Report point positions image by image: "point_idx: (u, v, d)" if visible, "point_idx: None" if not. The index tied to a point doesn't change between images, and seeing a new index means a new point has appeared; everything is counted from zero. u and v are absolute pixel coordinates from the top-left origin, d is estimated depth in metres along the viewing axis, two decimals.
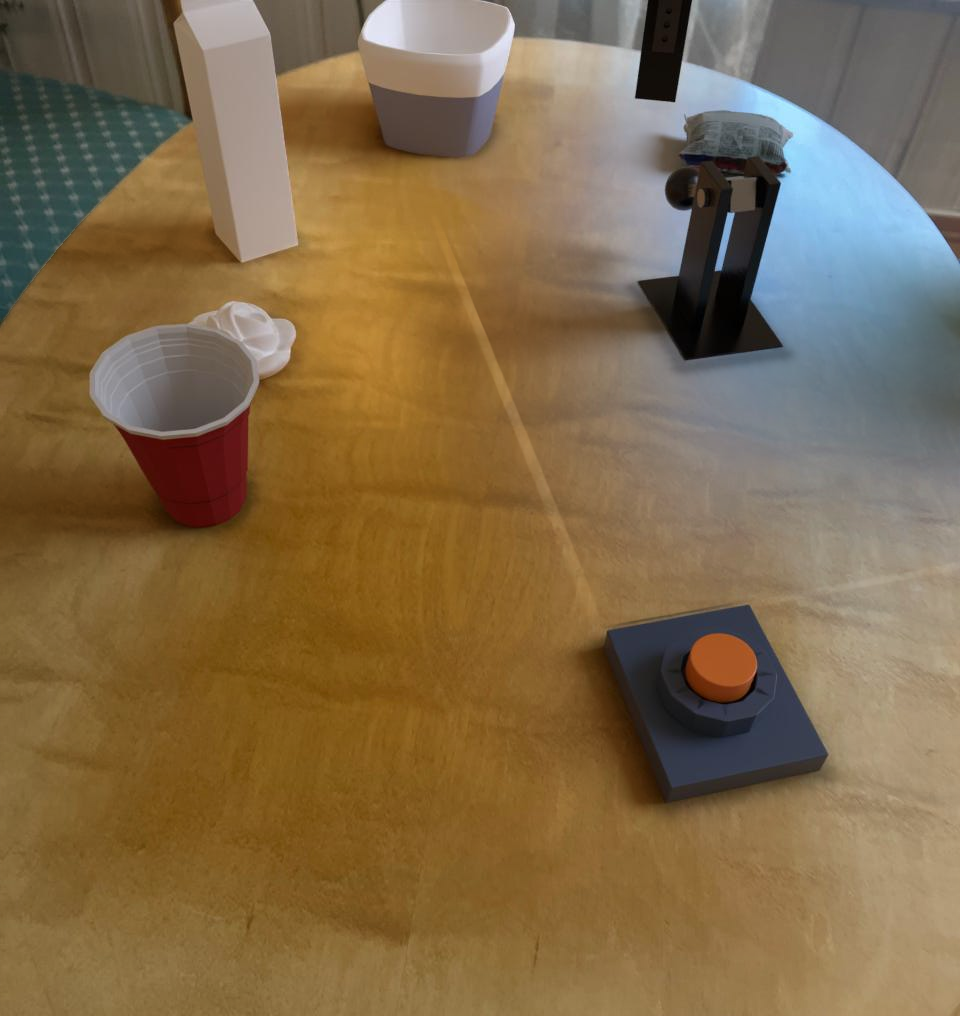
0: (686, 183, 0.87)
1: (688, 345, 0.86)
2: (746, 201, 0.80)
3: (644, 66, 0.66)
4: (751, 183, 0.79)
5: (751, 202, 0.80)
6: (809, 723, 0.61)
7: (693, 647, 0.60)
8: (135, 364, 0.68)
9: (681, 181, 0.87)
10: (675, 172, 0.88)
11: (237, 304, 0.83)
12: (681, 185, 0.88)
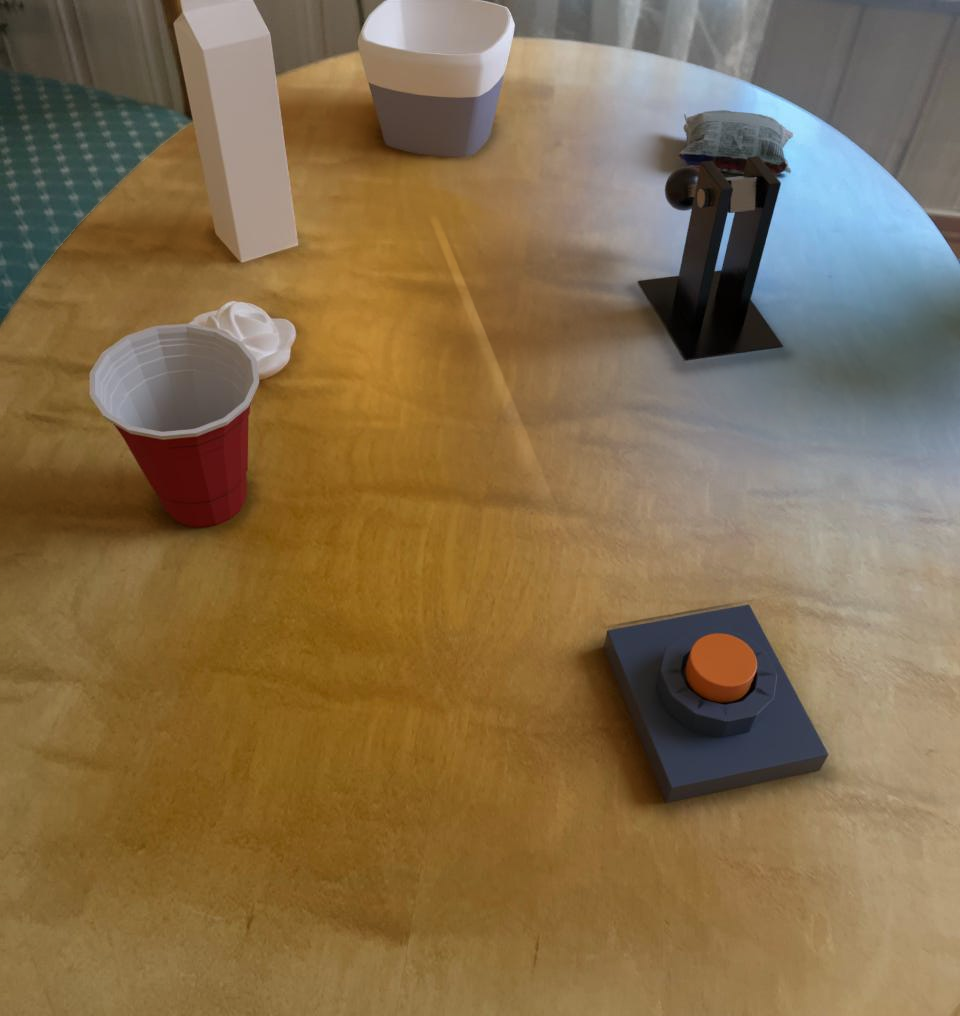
0: (686, 183, 0.87)
1: (688, 345, 0.86)
2: (746, 201, 0.80)
3: None
4: (751, 183, 0.79)
5: (751, 202, 0.80)
6: (809, 723, 0.61)
7: (693, 647, 0.60)
8: (135, 364, 0.68)
9: (681, 181, 0.87)
10: (675, 172, 0.88)
11: (237, 304, 0.83)
12: (681, 185, 0.88)
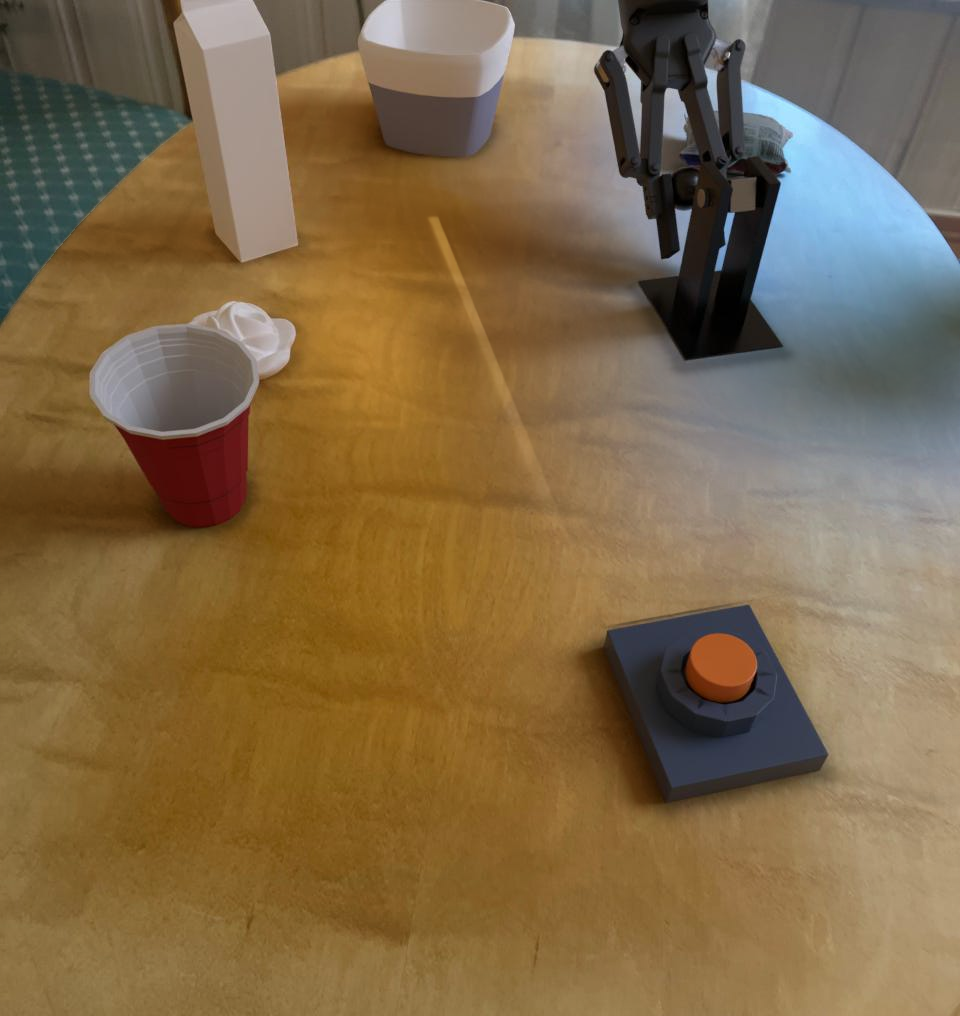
0: (686, 183, 0.87)
1: (688, 345, 0.86)
2: (746, 201, 0.80)
3: (659, 234, 0.90)
4: (751, 183, 0.79)
5: (751, 202, 0.80)
6: (809, 723, 0.61)
7: (693, 647, 0.60)
8: (135, 364, 0.68)
9: (681, 181, 0.87)
10: (675, 172, 0.88)
11: (237, 304, 0.83)
12: (681, 185, 0.88)
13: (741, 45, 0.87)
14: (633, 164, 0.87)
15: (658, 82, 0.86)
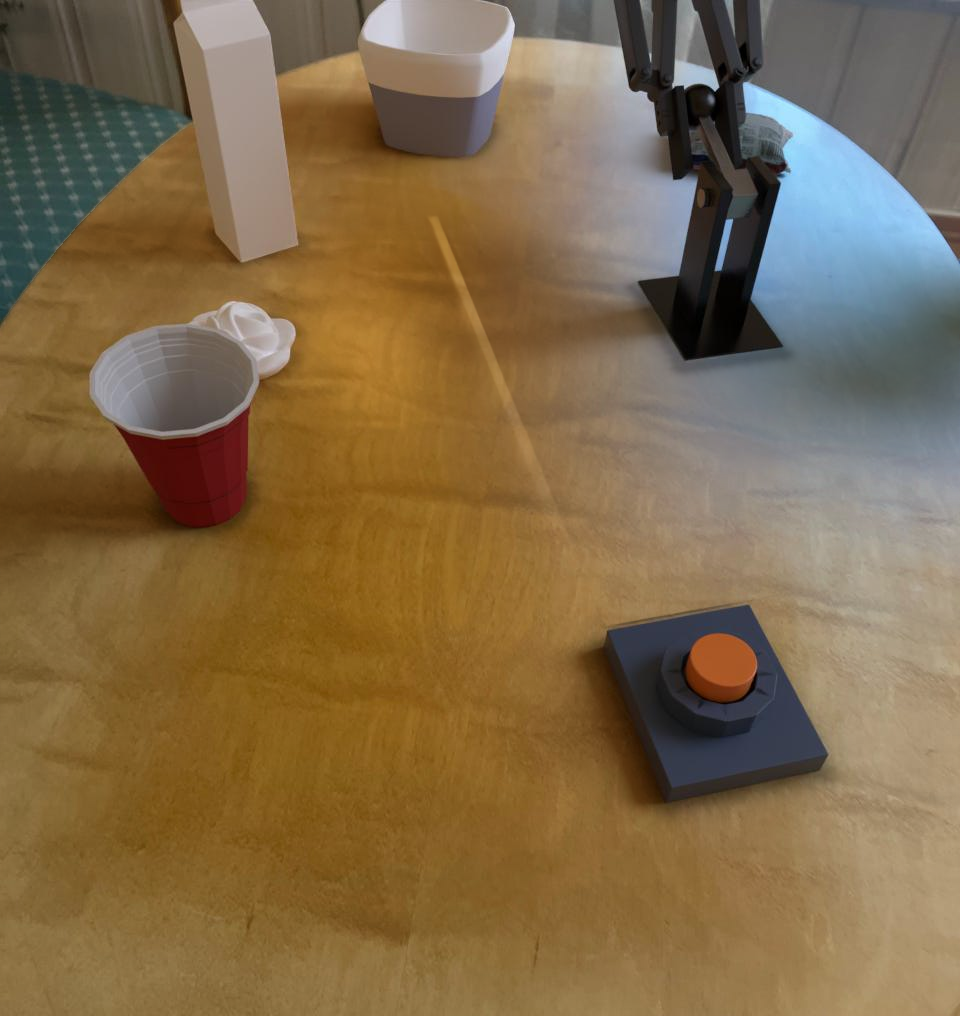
0: (698, 116, 0.83)
1: (688, 345, 0.86)
2: (742, 211, 0.80)
3: (671, 153, 0.85)
4: (752, 198, 0.79)
5: (747, 212, 0.81)
6: (809, 723, 0.61)
7: (693, 647, 0.60)
8: (135, 364, 0.68)
9: (693, 113, 0.83)
10: (690, 95, 0.83)
11: (237, 304, 0.83)
12: (692, 116, 0.83)
13: None
14: (644, 74, 0.81)
15: None
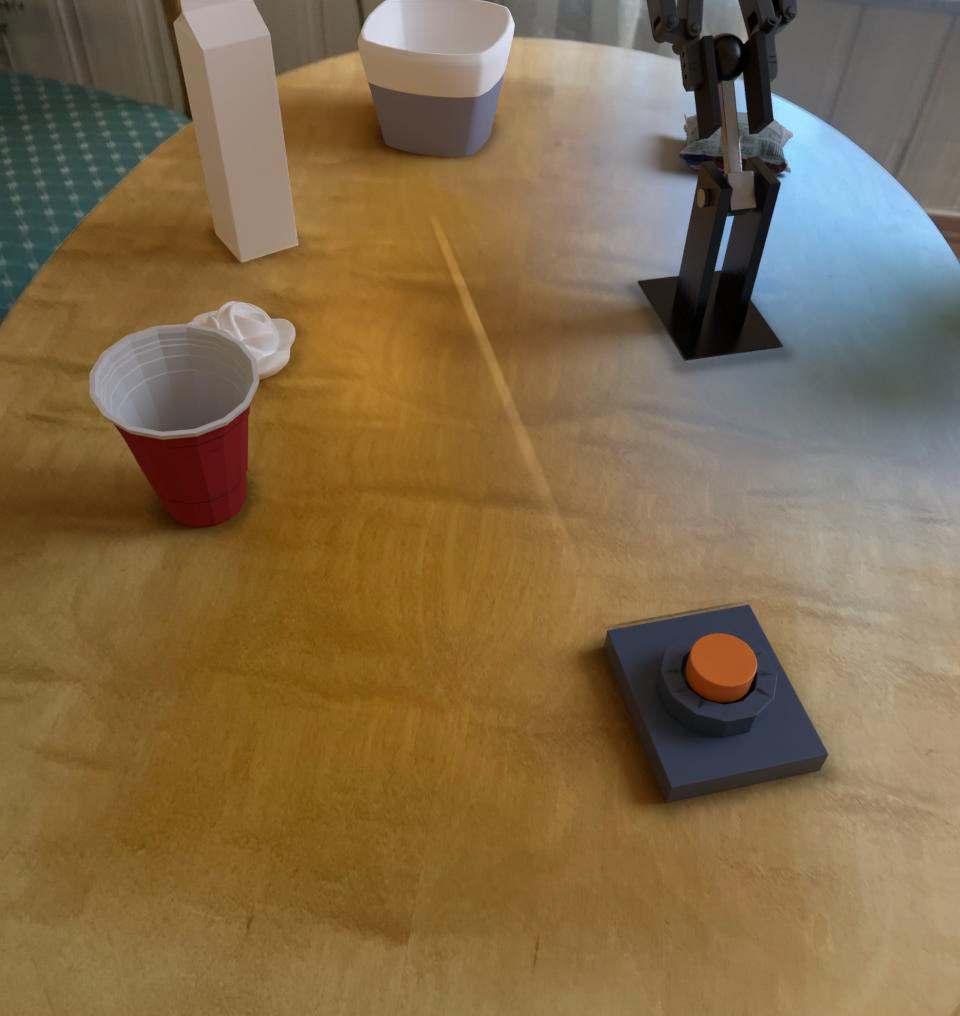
0: (720, 79, 0.78)
1: (688, 345, 0.86)
2: (737, 214, 0.81)
3: (697, 110, 0.79)
4: (749, 209, 0.80)
5: (742, 213, 0.81)
6: (809, 723, 0.61)
7: (693, 647, 0.60)
8: (135, 364, 0.68)
9: (717, 76, 0.78)
10: (718, 56, 0.77)
11: (237, 304, 0.83)
12: None
13: None
14: (670, 23, 0.75)
15: None
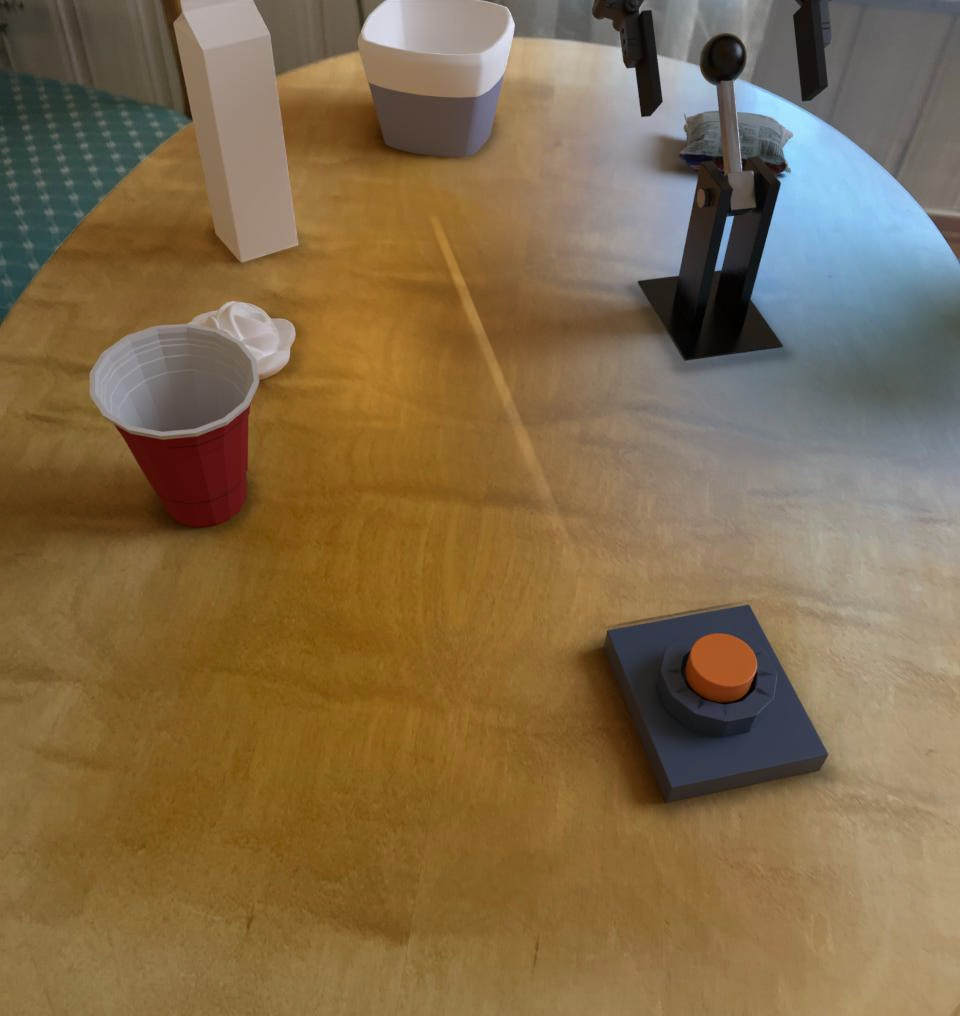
0: (720, 79, 0.78)
1: (688, 345, 0.86)
2: (738, 213, 0.81)
3: (639, 87, 0.78)
4: (749, 209, 0.80)
5: (742, 213, 0.81)
6: (809, 723, 0.61)
7: (693, 647, 0.60)
8: (135, 364, 0.68)
9: (717, 76, 0.78)
10: (718, 56, 0.77)
11: (237, 304, 0.83)
12: (715, 78, 0.78)
13: None
14: None
15: None
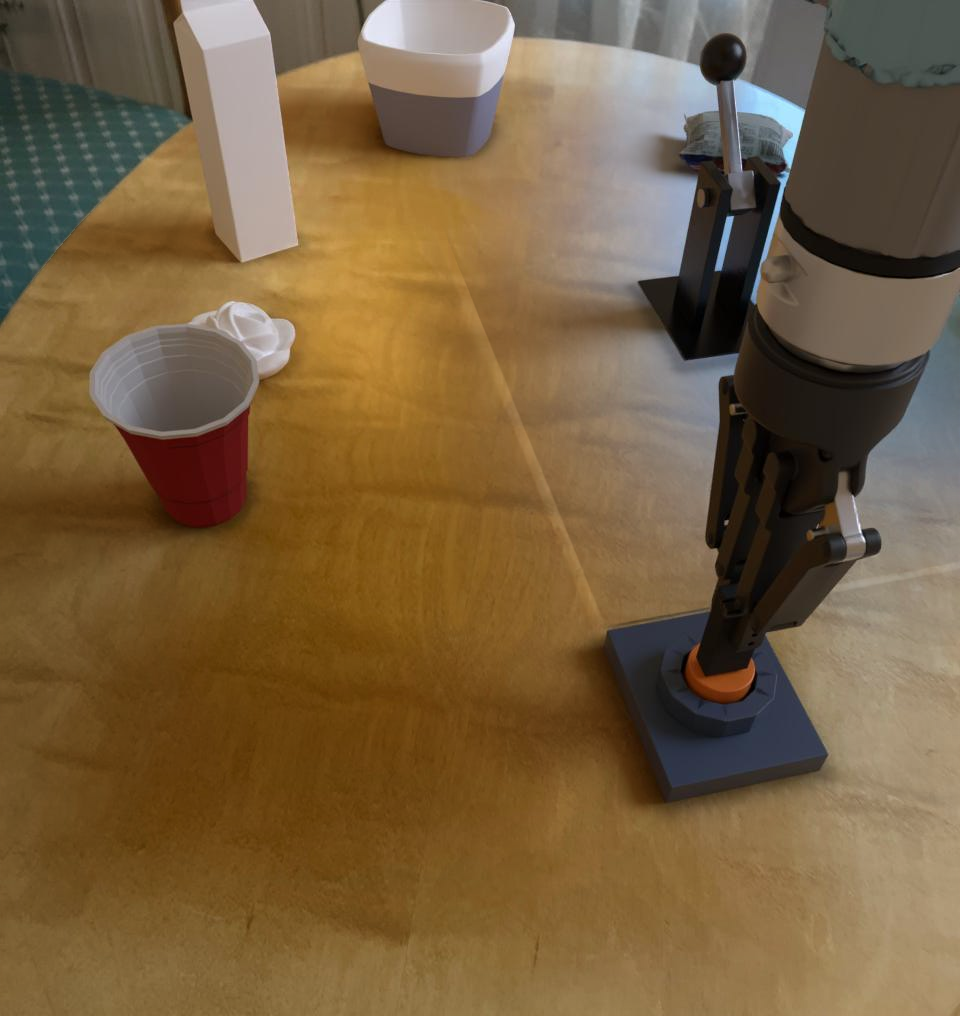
0: (720, 79, 0.78)
1: (688, 345, 0.86)
2: (738, 213, 0.81)
3: (717, 654, 0.58)
4: (749, 209, 0.80)
5: (742, 213, 0.81)
6: (809, 723, 0.61)
7: (691, 653, 0.61)
8: (135, 364, 0.68)
9: (717, 76, 0.78)
10: (718, 56, 0.77)
11: (236, 304, 0.83)
12: (715, 78, 0.78)
13: None
14: None
15: None
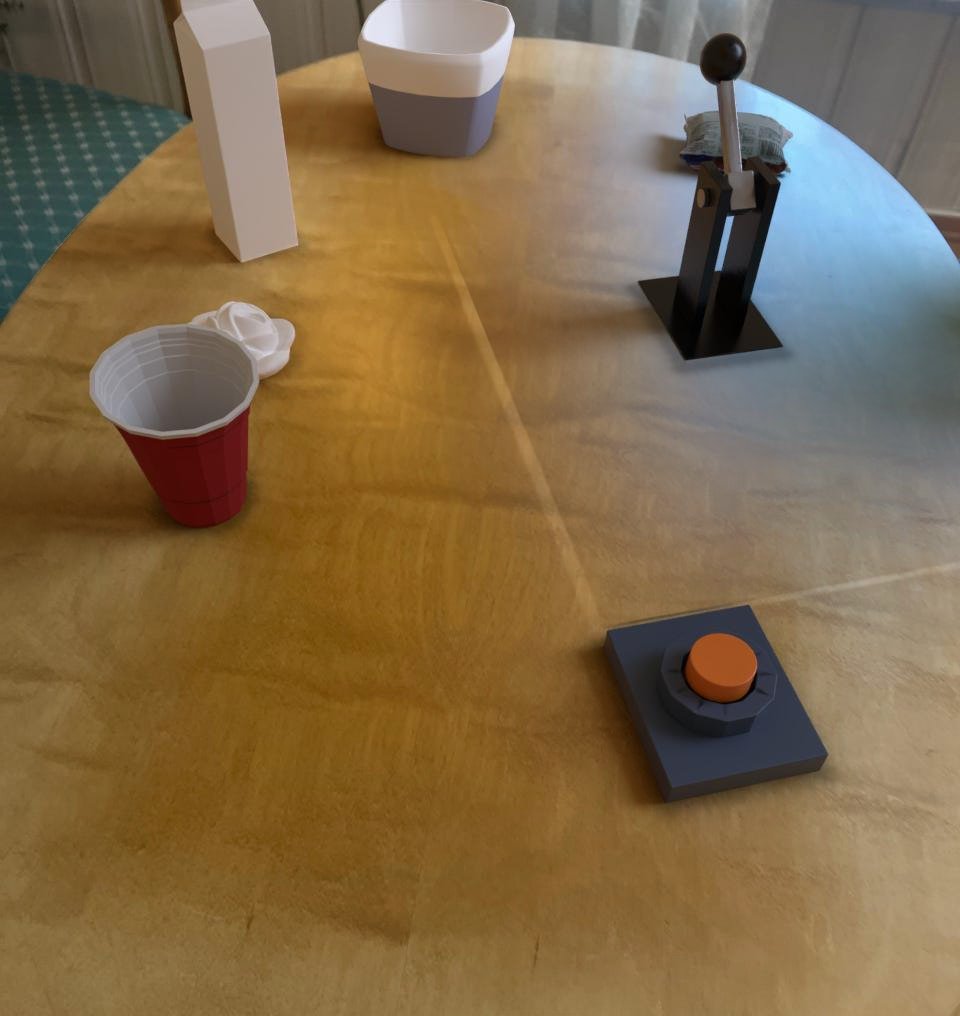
0: (720, 79, 0.78)
1: (688, 345, 0.86)
2: (738, 213, 0.81)
3: None
4: (749, 209, 0.80)
5: (742, 213, 0.81)
6: (809, 723, 0.61)
7: (693, 647, 0.60)
8: (135, 364, 0.68)
9: (717, 76, 0.78)
10: (718, 56, 0.77)
11: (236, 304, 0.83)
12: (715, 78, 0.78)
13: None
14: None
15: None
